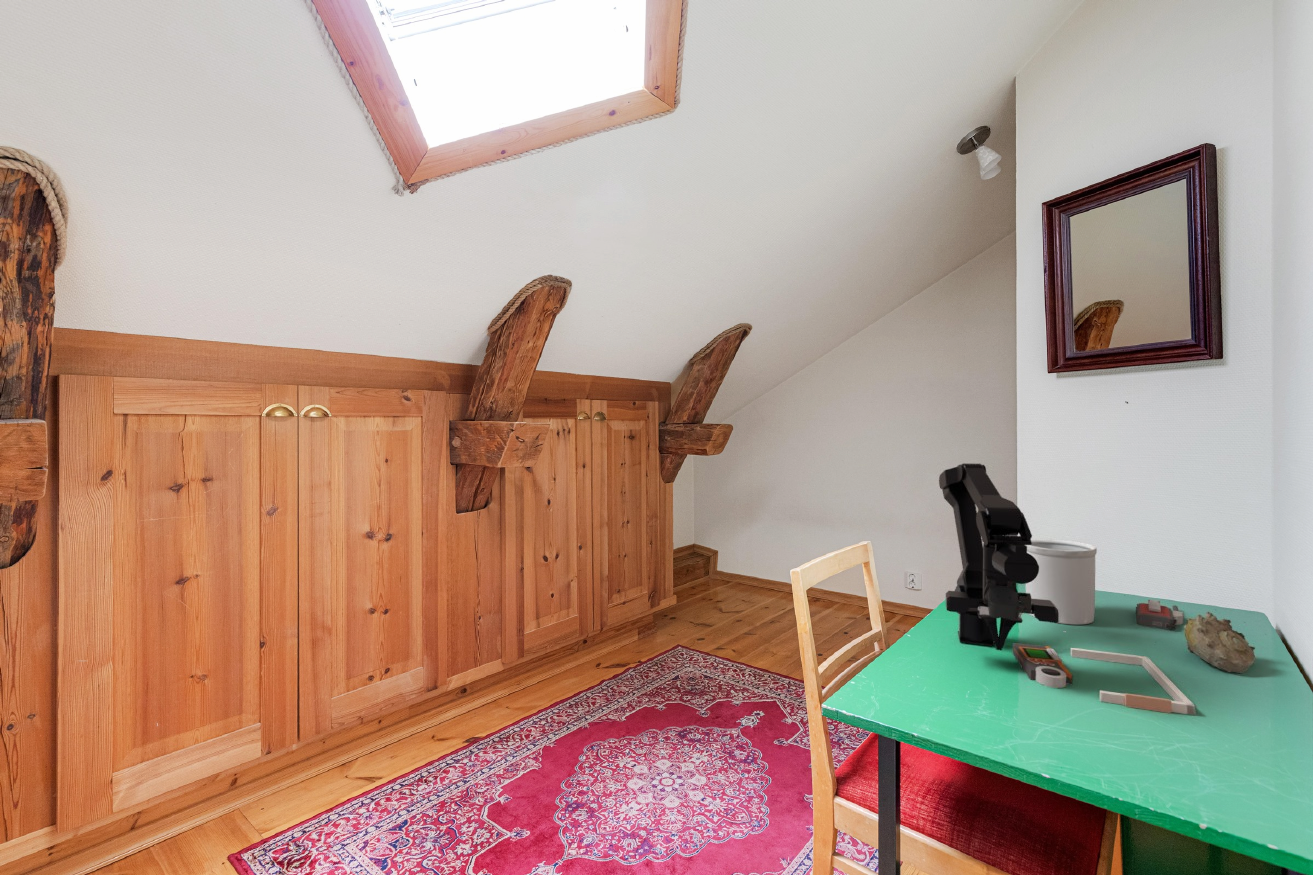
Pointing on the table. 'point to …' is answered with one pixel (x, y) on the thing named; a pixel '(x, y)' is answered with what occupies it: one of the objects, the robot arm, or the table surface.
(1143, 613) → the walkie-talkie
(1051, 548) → the utensil holder
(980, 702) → the table surface
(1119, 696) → the docking bay
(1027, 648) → the electronic device
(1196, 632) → the seashell
